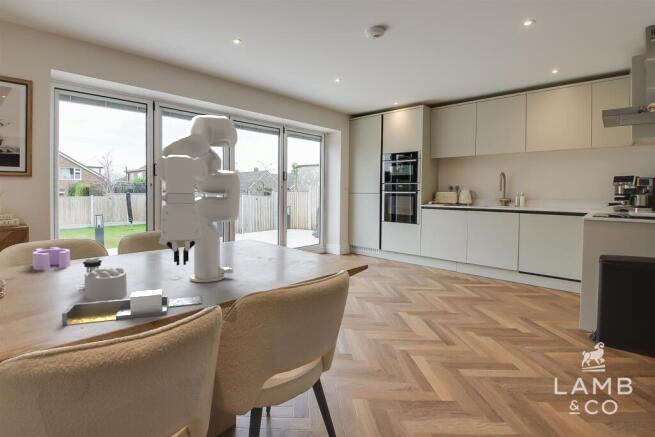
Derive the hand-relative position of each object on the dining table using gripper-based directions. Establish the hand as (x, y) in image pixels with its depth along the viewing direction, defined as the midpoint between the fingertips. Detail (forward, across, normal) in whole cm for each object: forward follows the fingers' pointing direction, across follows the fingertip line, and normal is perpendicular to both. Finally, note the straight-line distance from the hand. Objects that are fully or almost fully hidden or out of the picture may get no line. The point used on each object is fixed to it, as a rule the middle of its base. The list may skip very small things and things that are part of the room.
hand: (181, 263), depth 99 cm
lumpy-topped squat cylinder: (+13, -22, +21) cm, 33 cm away
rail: (+13, -16, 0) cm, 20 cm away
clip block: (+12, -9, 0) cm, 15 cm away
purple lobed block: (+14, -53, +77) cm, 94 cm away
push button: (+13, -29, +33) cm, 46 cm away
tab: (+13, +1, +6) cm, 14 cm away
